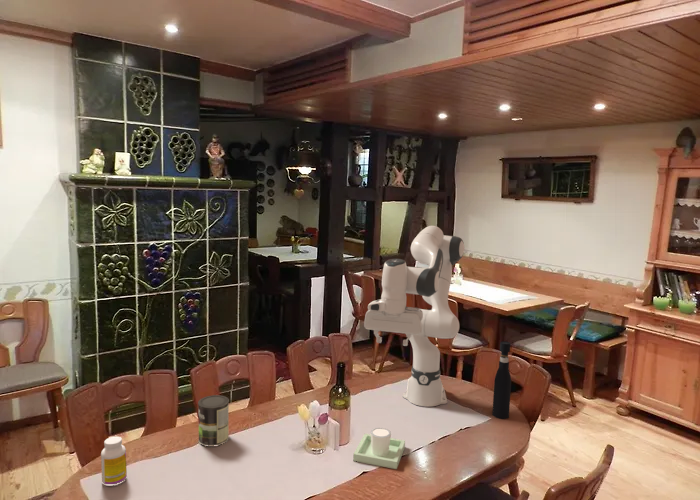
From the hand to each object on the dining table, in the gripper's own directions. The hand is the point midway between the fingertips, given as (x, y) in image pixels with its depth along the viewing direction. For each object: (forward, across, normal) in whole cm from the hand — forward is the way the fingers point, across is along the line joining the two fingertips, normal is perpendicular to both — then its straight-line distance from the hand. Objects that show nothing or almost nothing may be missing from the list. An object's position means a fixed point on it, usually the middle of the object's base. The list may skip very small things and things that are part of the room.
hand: (392, 343), depth 173 cm
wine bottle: (+34, -39, -31) cm, 60 cm away
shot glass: (+34, 0, +13) cm, 36 cm away
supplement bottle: (+34, +71, +55) cm, 96 cm away
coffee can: (+34, +57, +24) cm, 71 cm away
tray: (+34, 0, +13) cm, 37 cm away
